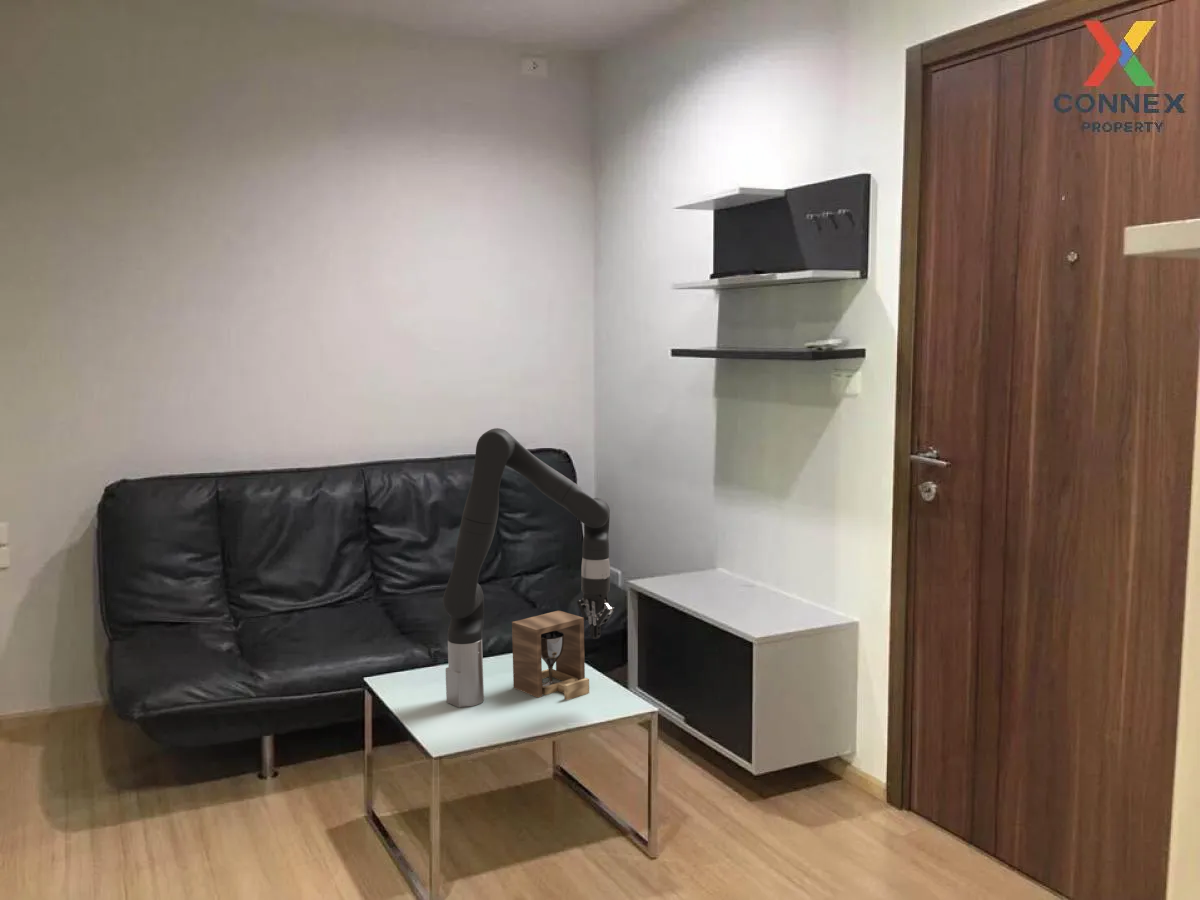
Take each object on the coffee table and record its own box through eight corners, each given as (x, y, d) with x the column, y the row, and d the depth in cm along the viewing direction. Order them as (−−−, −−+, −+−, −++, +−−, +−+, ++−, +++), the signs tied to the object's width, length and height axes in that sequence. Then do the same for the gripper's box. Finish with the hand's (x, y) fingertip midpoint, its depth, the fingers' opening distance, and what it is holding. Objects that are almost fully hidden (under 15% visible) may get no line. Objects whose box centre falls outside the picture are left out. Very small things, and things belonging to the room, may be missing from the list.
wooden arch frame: (538, 697, 279) (536, 629, 277) (513, 687, 287) (511, 621, 285) (584, 682, 291) (583, 617, 288) (560, 673, 299) (558, 610, 297)
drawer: (561, 701, 276) (561, 687, 275) (518, 684, 290) (517, 671, 290) (594, 691, 284) (594, 677, 283) (550, 674, 298) (550, 661, 297)
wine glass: (561, 691, 284) (560, 639, 282) (533, 690, 285) (532, 637, 284) (567, 682, 292) (566, 630, 290) (540, 680, 293) (539, 629, 291)
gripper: (568, 572, 273) (568, 635, 275) (601, 581, 263) (601, 646, 265) (589, 567, 278) (589, 630, 280) (623, 576, 268) (622, 640, 270)
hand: (595, 637), depth 272 cm, fingers closed
